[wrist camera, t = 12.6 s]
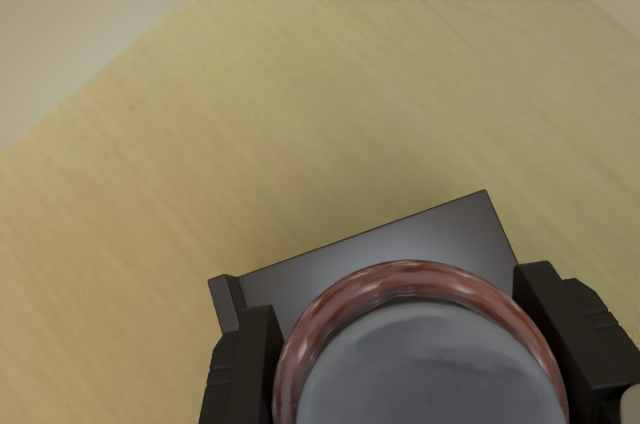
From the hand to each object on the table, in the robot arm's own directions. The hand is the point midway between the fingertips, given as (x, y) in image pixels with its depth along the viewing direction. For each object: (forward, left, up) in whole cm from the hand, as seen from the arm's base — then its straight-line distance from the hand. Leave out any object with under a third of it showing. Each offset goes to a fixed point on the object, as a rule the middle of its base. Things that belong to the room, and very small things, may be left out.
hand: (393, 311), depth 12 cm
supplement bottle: (0, +2, -6) cm, 7 cm away
